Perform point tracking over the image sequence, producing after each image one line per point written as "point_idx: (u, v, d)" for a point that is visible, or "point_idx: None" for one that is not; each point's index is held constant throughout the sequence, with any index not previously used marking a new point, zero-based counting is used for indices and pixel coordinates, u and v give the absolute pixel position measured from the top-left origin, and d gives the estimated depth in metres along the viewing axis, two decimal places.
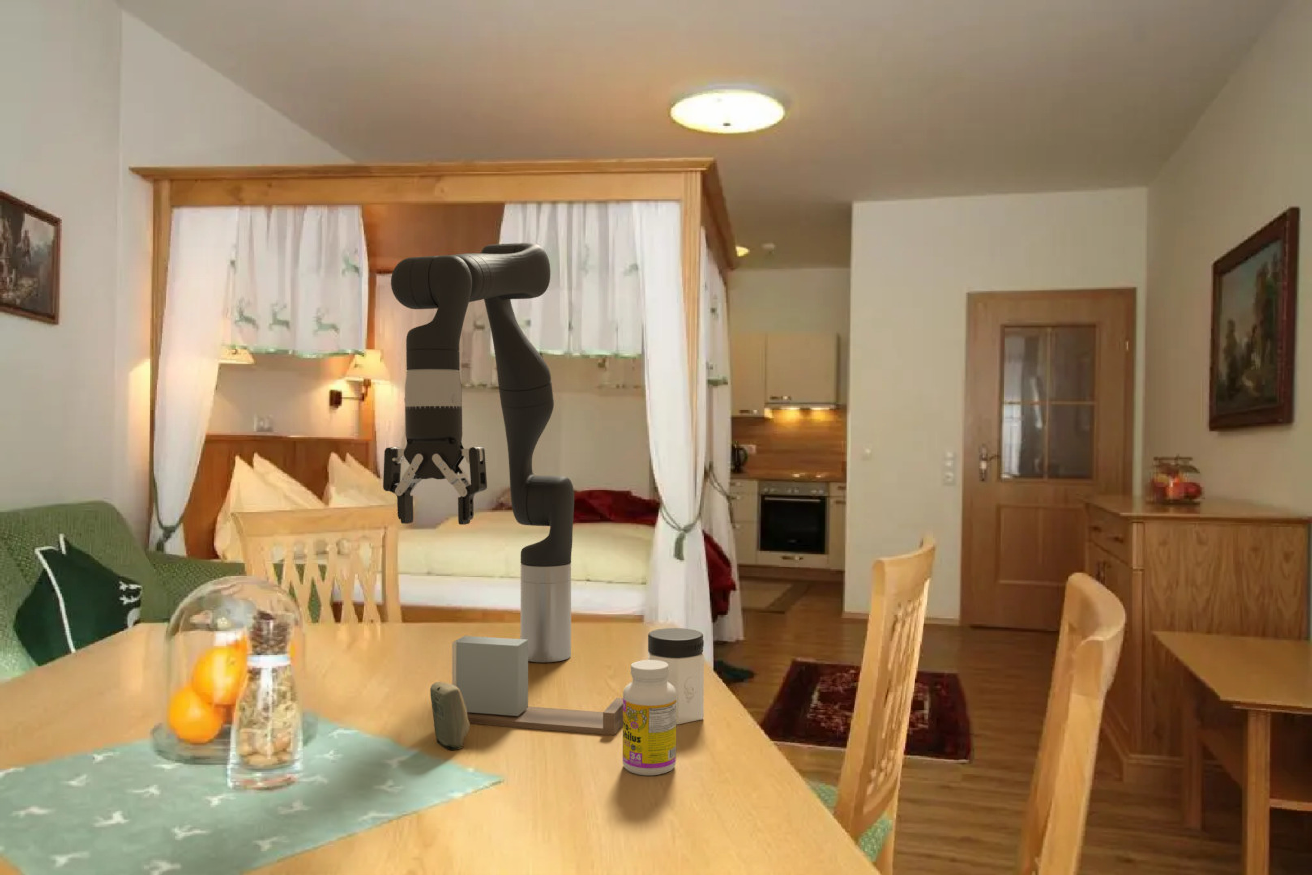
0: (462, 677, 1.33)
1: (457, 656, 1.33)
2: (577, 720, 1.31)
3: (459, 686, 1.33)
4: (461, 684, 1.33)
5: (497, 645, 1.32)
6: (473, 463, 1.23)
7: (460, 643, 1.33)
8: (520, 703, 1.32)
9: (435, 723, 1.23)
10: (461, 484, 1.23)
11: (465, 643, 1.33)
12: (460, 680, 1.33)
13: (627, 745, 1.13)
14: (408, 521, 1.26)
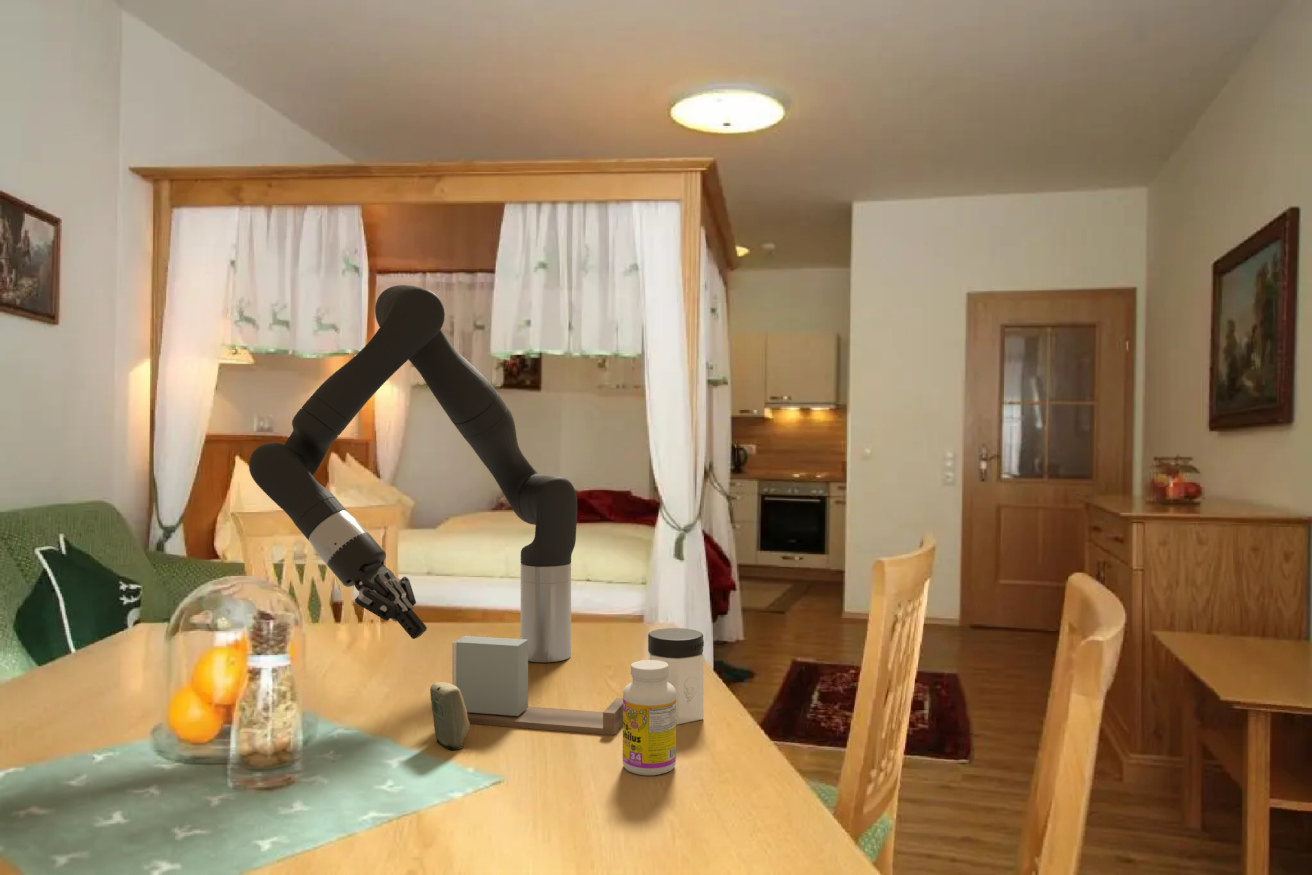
0: (462, 677, 1.33)
1: (457, 656, 1.33)
2: (577, 720, 1.31)
3: (459, 686, 1.33)
4: (461, 684, 1.33)
5: (497, 645, 1.32)
6: None
7: (460, 643, 1.33)
8: (520, 703, 1.32)
9: (435, 723, 1.23)
10: None
11: (465, 643, 1.33)
12: (460, 680, 1.33)
13: (627, 745, 1.13)
14: None
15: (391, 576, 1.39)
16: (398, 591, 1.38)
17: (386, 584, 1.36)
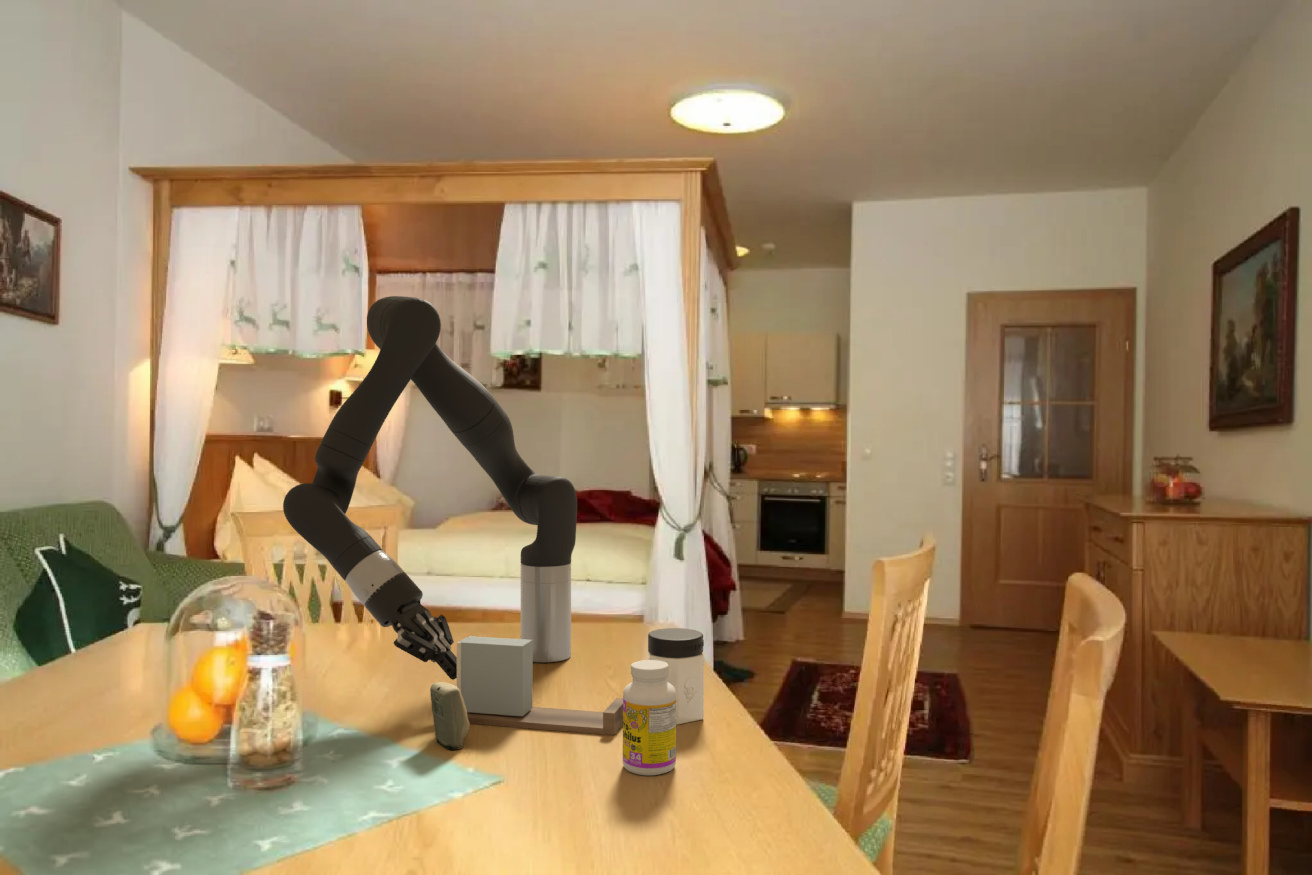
0: (466, 677, 1.33)
1: (461, 656, 1.33)
2: (577, 720, 1.31)
3: (463, 686, 1.33)
4: (465, 684, 1.33)
5: (502, 645, 1.32)
6: None
7: (464, 643, 1.33)
8: (524, 703, 1.32)
9: (435, 723, 1.23)
10: None
11: (469, 643, 1.33)
12: (465, 681, 1.33)
13: (627, 745, 1.13)
14: None
15: (428, 616, 1.38)
16: (436, 631, 1.37)
17: (424, 625, 1.35)
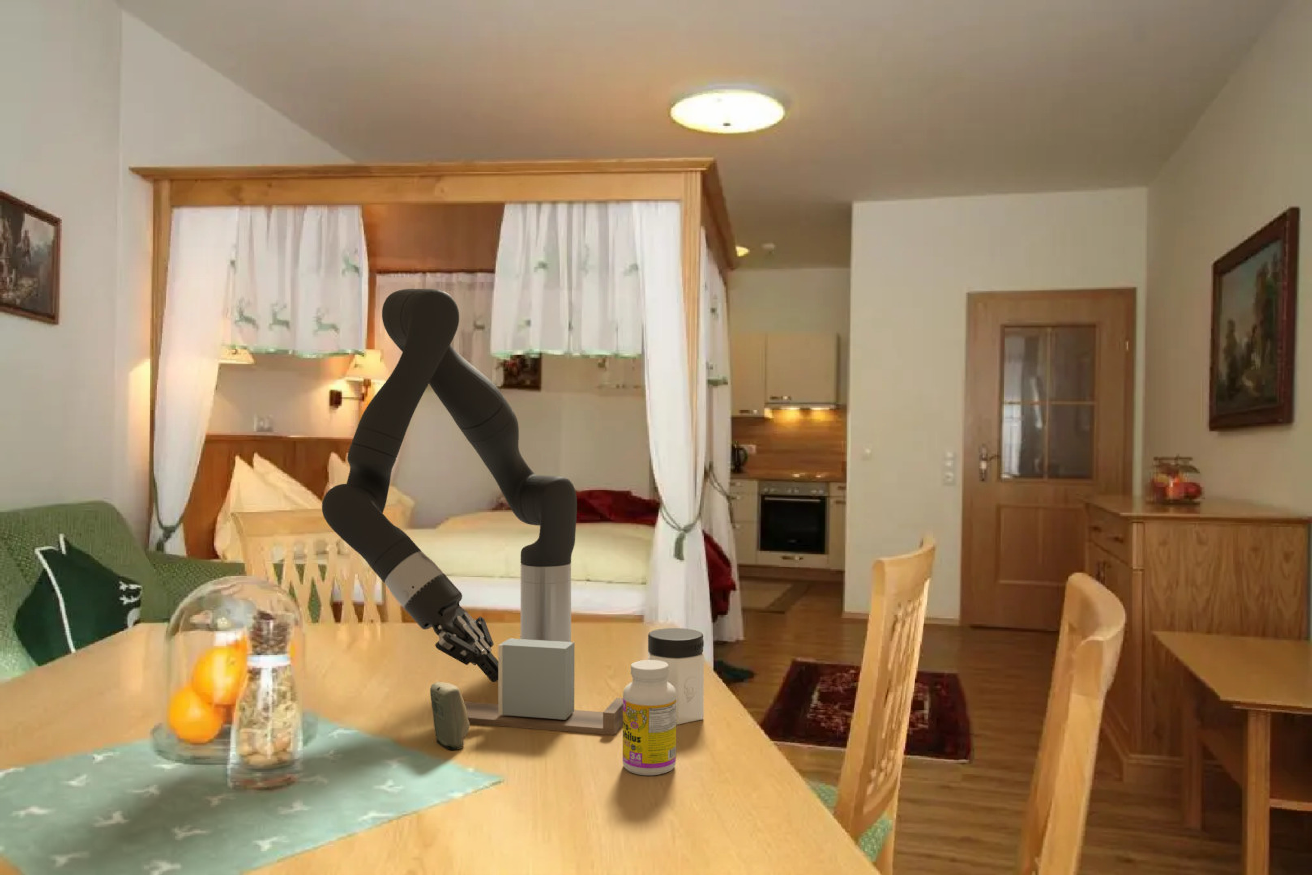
0: (508, 680, 1.32)
1: (503, 659, 1.32)
2: (577, 720, 1.31)
3: (505, 689, 1.32)
4: (507, 687, 1.32)
5: (544, 648, 1.30)
6: None
7: (506, 646, 1.32)
8: (567, 706, 1.31)
9: (435, 723, 1.23)
10: None
11: (511, 646, 1.32)
12: (506, 684, 1.32)
13: (627, 745, 1.13)
14: None
15: (468, 618, 1.36)
16: (476, 633, 1.35)
17: (465, 627, 1.34)
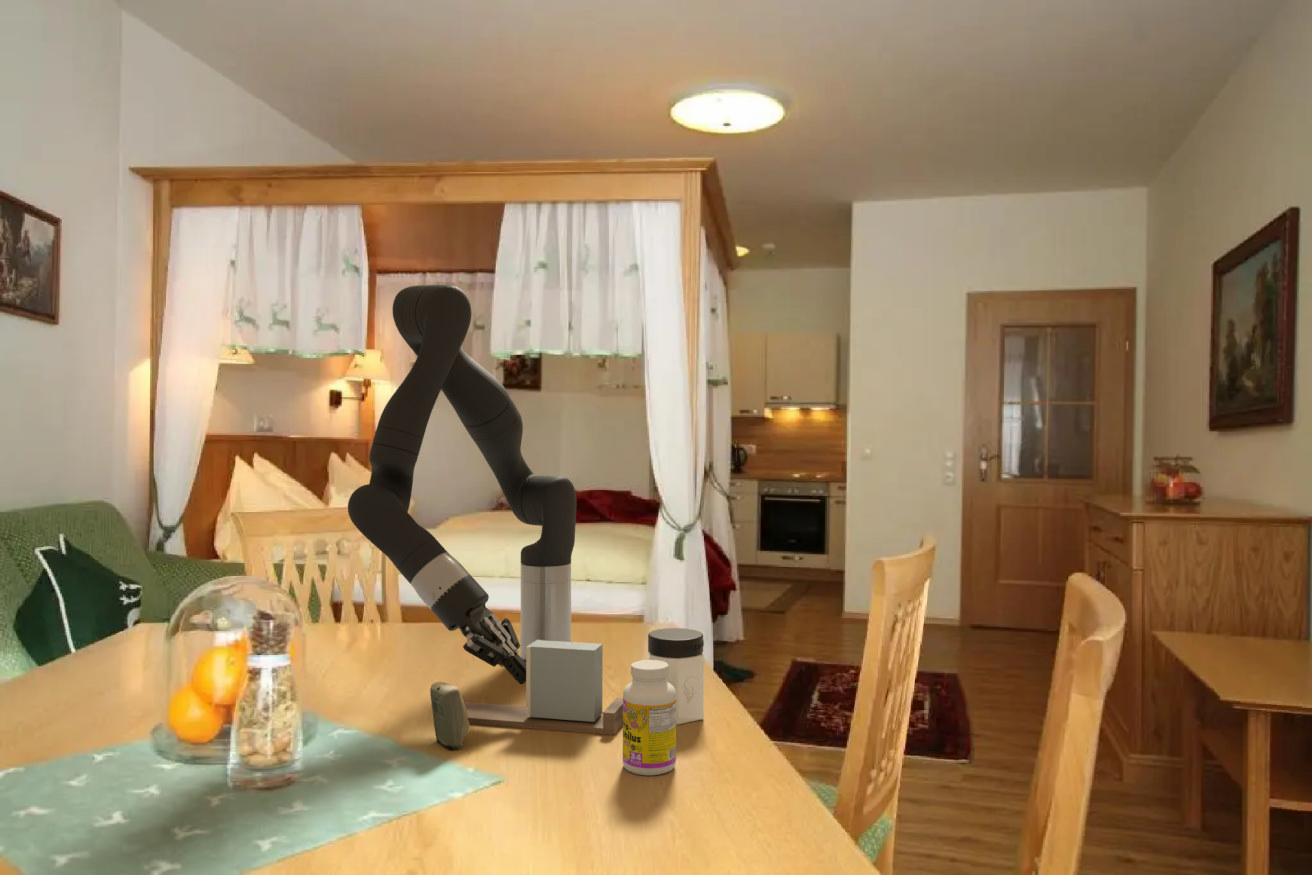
0: (536, 682, 1.31)
1: (531, 661, 1.31)
2: None
3: (533, 691, 1.31)
4: (535, 689, 1.31)
5: (573, 650, 1.30)
6: None
7: (534, 647, 1.31)
8: (596, 708, 1.30)
9: (435, 723, 1.23)
10: None
11: (539, 647, 1.31)
12: (534, 686, 1.31)
13: (627, 745, 1.13)
14: None
15: (495, 619, 1.35)
16: (503, 635, 1.34)
17: (492, 629, 1.33)
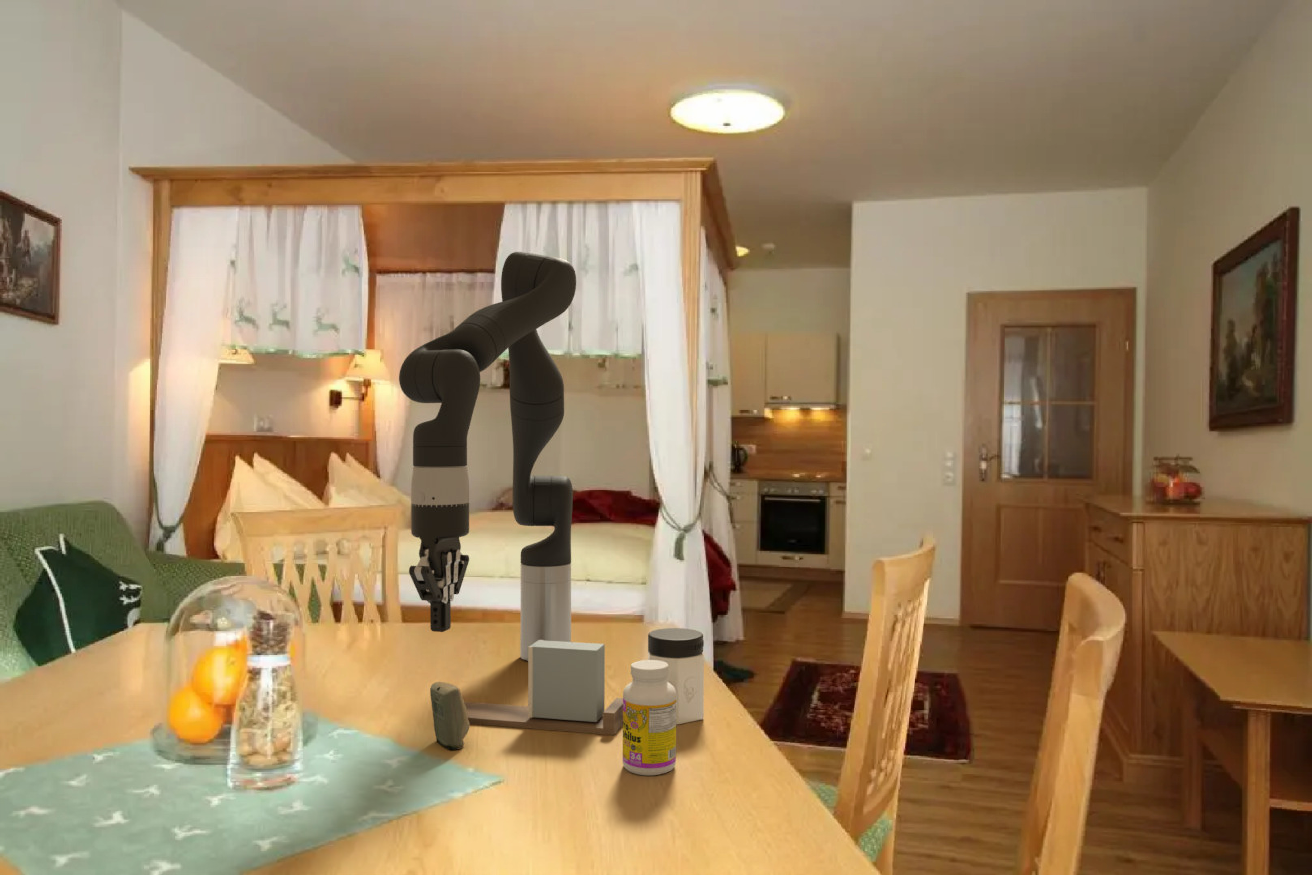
0: (538, 682, 1.31)
1: (533, 661, 1.31)
2: None
3: (535, 691, 1.31)
4: (537, 689, 1.31)
5: (575, 650, 1.29)
6: None
7: (536, 648, 1.31)
8: (598, 709, 1.30)
9: (435, 723, 1.23)
10: None
11: (542, 648, 1.31)
12: (537, 686, 1.31)
13: (627, 745, 1.13)
14: None
15: (457, 558, 1.23)
16: (452, 577, 1.23)
17: (447, 567, 1.21)
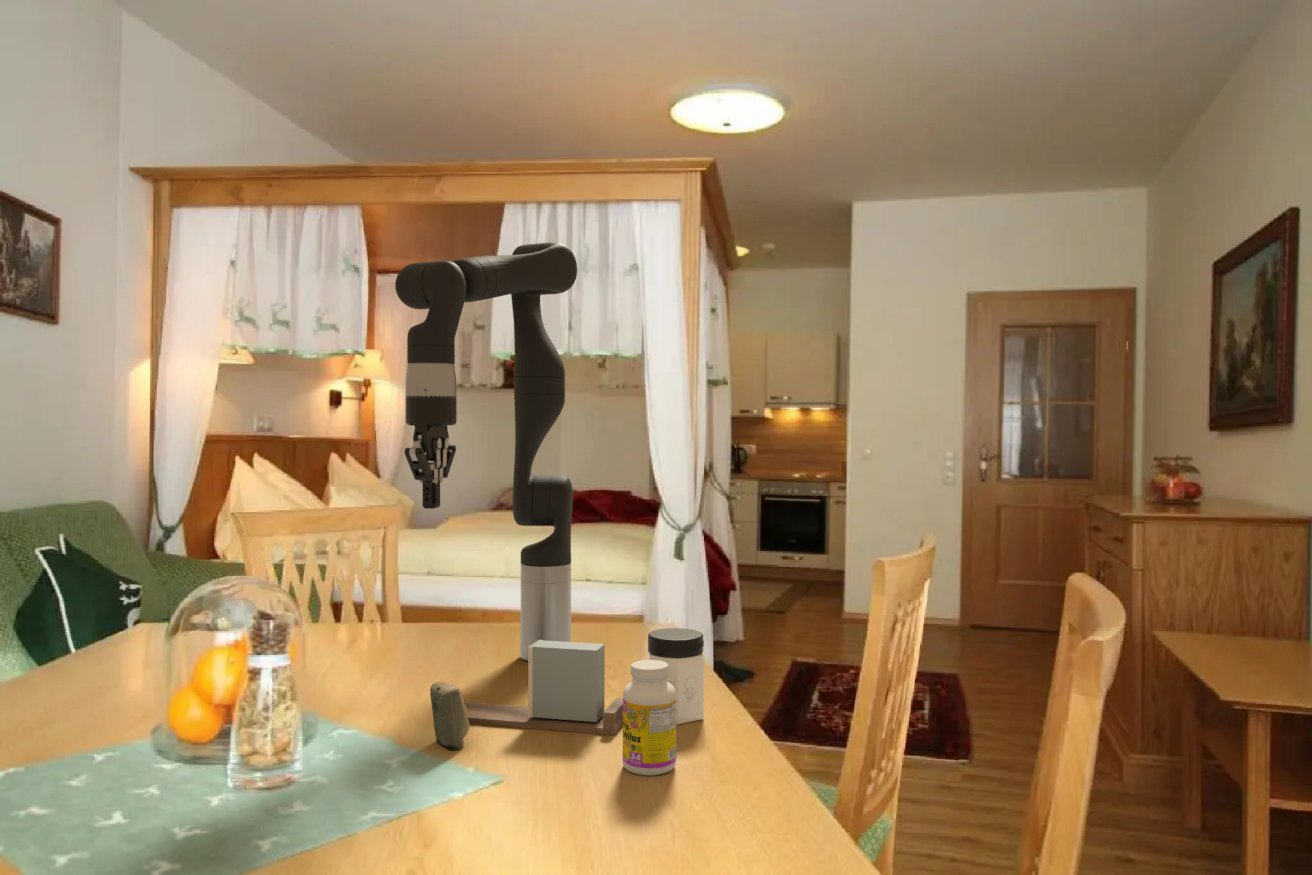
0: (538, 682, 1.31)
1: (533, 661, 1.31)
2: None
3: (535, 691, 1.31)
4: (537, 689, 1.31)
5: (575, 650, 1.29)
6: None
7: (536, 648, 1.31)
8: (598, 709, 1.30)
9: (435, 723, 1.23)
10: None
11: (542, 648, 1.31)
12: (537, 686, 1.31)
13: (627, 745, 1.13)
14: None
15: (445, 445, 1.41)
16: (441, 461, 1.41)
17: (437, 451, 1.39)
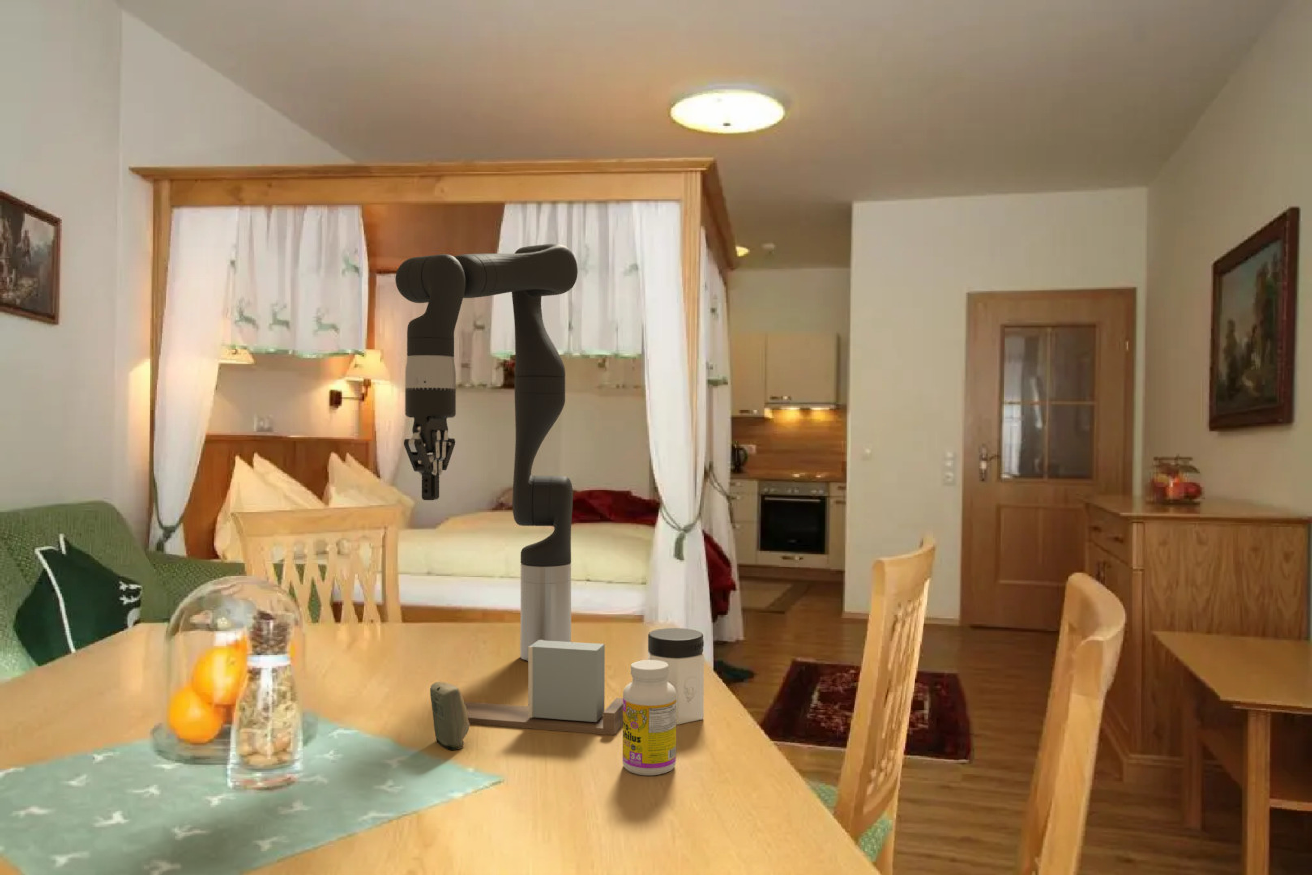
0: (538, 682, 1.31)
1: (533, 661, 1.31)
2: None
3: (535, 691, 1.31)
4: (537, 689, 1.31)
5: (575, 650, 1.29)
6: None
7: (536, 648, 1.31)
8: (598, 709, 1.30)
9: (435, 723, 1.23)
10: None
11: (542, 648, 1.31)
12: (537, 686, 1.31)
13: (627, 745, 1.13)
14: None
15: (445, 437, 1.42)
16: (440, 453, 1.42)
17: (436, 443, 1.40)
